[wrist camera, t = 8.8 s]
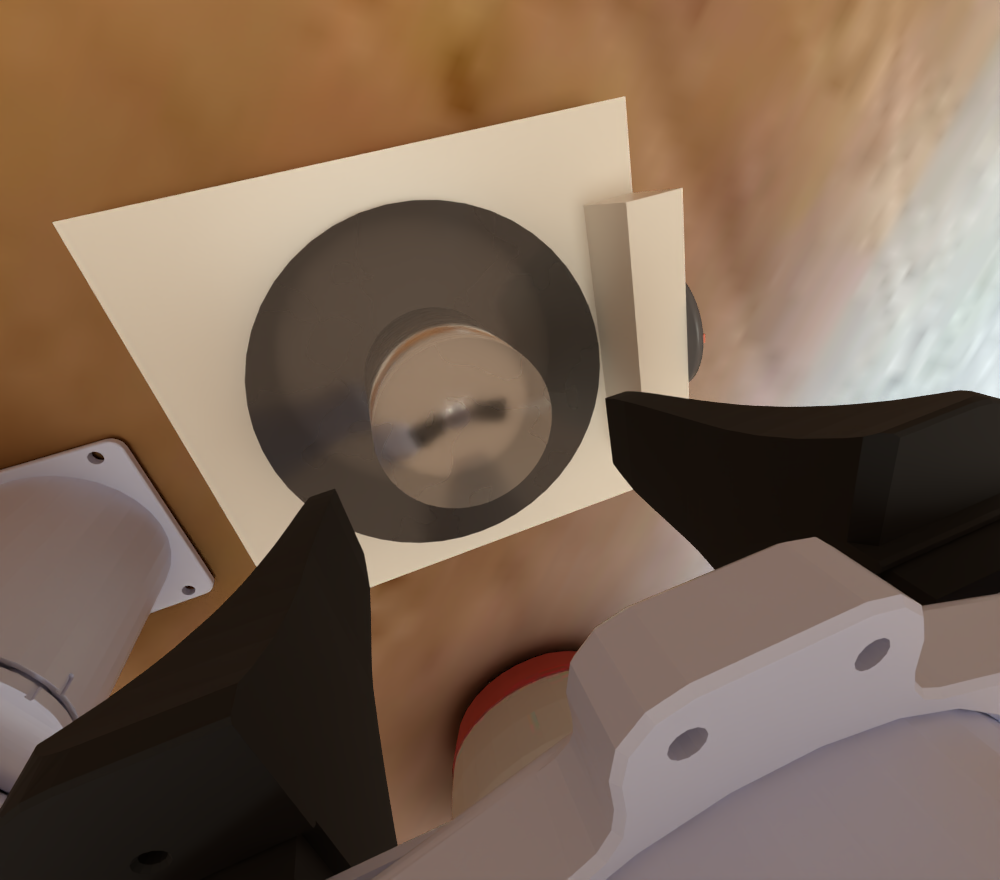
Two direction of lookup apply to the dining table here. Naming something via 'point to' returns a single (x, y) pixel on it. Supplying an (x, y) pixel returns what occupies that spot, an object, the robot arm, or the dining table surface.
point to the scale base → (360, 187)
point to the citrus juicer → (510, 726)
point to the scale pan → (368, 310)
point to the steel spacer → (453, 409)
